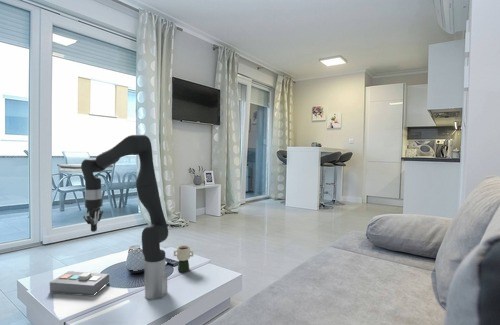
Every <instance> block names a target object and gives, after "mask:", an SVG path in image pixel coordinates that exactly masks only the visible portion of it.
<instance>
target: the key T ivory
mask: <svg viewBox="0 0 500 325" xmlns="http://www.w3.org/2000/svg"><path fill="white" fill-rule="evenodd" d="M100 278H101V277H99V276H93V277H92V278H90V279H89V280H88V281H95V282H96V281H97V280H99V279H100Z"/></svg>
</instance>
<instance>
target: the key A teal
mask: <svg viewBox="0 0 500 325" xmlns="http://www.w3.org/2000/svg"><path fill="white" fill-rule="evenodd" d="M79 276H80V275H74V276H72V277H70V278H69V280H77V279H79Z"/></svg>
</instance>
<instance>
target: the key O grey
mask: <svg viewBox="0 0 500 325" xmlns="http://www.w3.org/2000/svg"><path fill="white" fill-rule="evenodd" d="M91 273H92V272H87V273H83V274H81V275H80V276H79V280H82V281H87V280H88V279H89V278H91Z"/></svg>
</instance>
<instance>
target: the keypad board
mask: <svg viewBox="0 0 500 325" xmlns="http://www.w3.org/2000/svg"><path fill="white" fill-rule="evenodd" d="M83 273H88V272H83V271H81V272H80V271H67V272H64V273H63V274H61V275H60V276H58V277H56V278H55V279H53V280H51V281H49V293H50V294H61V295H73V294H82V295H81V296H86V295H94V294H95V293H96V292H98V291H99V290H100V289H101V288H102V287H103V286H104V285H105V284H107V283H108V282H109V283H110V274H109V273H98V272H90V273H91V278H92V277H93V276H99V277H101V278H100V279H99V280H97V281H96V282H95V281H88V280H89V279H90V278H89V279H88V280H87V281H82V280H79V279H77V280H69V278H68V279H67V280H66V279H60V277H62V276H63V275H65V274H70V275H73V276H74V275H81V274H83ZM99 292H100V291H99ZM99 292H98V293H99ZM94 296H95V295H94Z"/></svg>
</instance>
